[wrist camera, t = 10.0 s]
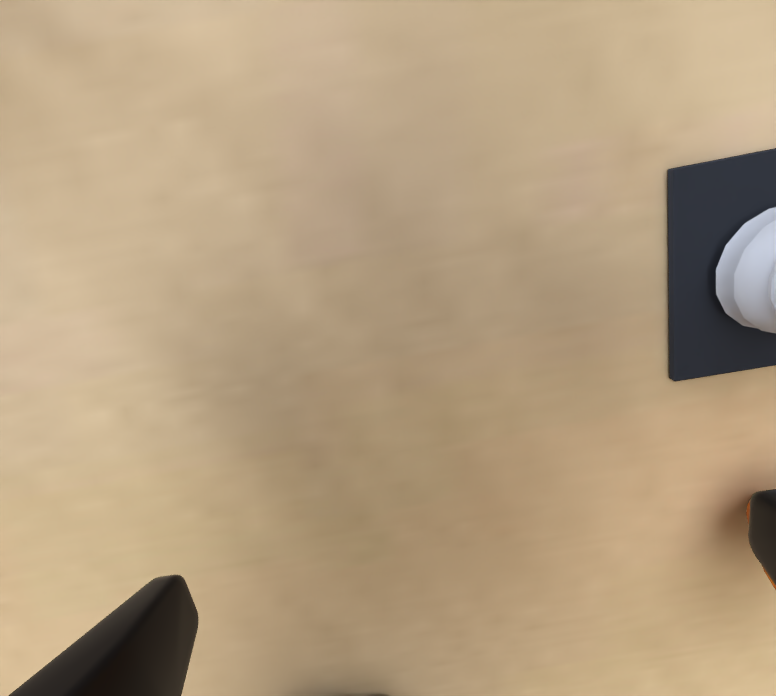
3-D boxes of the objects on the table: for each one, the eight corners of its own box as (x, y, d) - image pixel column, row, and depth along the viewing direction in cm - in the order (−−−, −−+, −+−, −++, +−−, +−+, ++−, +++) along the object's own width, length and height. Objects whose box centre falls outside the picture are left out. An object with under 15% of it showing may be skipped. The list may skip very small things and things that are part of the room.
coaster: (853, 348, 19) (862, 351, 18) (669, 378, 19) (674, 382, 19) (878, 128, 16) (890, 127, 16) (666, 169, 17) (673, 168, 17)
